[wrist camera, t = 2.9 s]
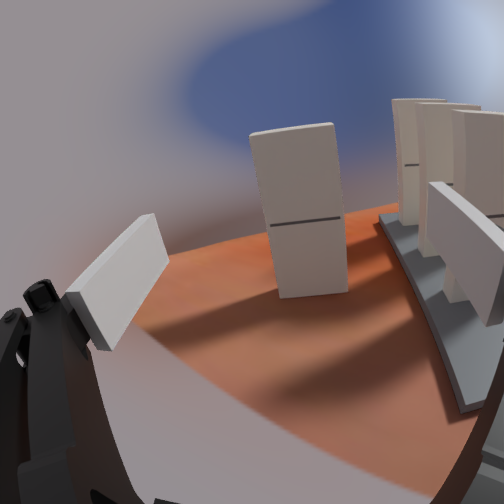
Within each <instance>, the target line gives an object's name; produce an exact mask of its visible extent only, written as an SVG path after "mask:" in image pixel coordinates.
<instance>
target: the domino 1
mask: <svg viewBox="0 0 504 504" xmlns="http://www.w3.org/2000/svg"><path fill="white" fill-rule="evenodd" d="M249 141H250V146H251V151H252V156H253V161H254V166H255V171H256V175H257V181H258V186H259V191H260V196H261V201H262V206H263V211H264V216H265V222H266V226H267V232H268V238H269V243H270V248H271V253H272V259H273V264H274V269H275V275H276V280H277V286H278V291H279V297H280V299H282V298H294V297H305V296H315V295H325V294H335V293H344V292H348V274H347V252H346V235H345V221H344V208H343V197H342V186H341V177H340V168H339V160H338V151H337V143H336V136H335V129H334V124H333V123H331V122H329V123H320V124H311V125H303V126H295V127H288V128H281V129H275V130H268V131H262V132H256V133H252V134H251V135H250V136H249Z"/></svg>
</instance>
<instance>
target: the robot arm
mask: <svg viewBox="0 0 504 504" xmlns="http://www.w3.org/2000/svg"><path fill="white" fill-rule="evenodd" d="M426 237H427V238H428V240H429V241H430V242H431V244H432V245H433V247H434V248H435V249H436V251H437V252H438V254H439V255H440V256H441V258H442V259H443V261H444V262H445V264H446V265H447V266H448V268H449V269H450V271H451V272H452V274H453V275H454V277H455V278H456V280H457V281H458V283H459V285H460V286H461V288H462V289H463V291H464V292H465V294H466V296H467V297H468V299H469V300H470V302H471V304H472V305H473V307H474V309H475V310H476V312H477V314H478V316H479V317H480V319H481V321H482V322H483V324H484V326H485V327H489V326H493V325H497V324H501V323H502V322H503V319H504V228H502V227H500V226H498V225H497V224H495V223H493V222H492V221H491V220H489V219H488V218H487V217H486V216H485V215H484V214H483V213H481V212H480V211H479V210H478V209H477V208H475V207H474V206H473V205H472V204H471V203H469V202H468V201H467V200H466V199H464V198H463V197H462V196H461V195H459V194H458V193H457V192H456V191H454V190H453V189H452V188H450V187H449V186H448V185H446V184H445V183H444V182H442V181H441V182H428V211H427V229H426ZM168 263H169V258H168V255H167V252H166V249H165V246H164V243H163V240H162V237H161V234H160V231H159V228H158V225H157V221H156V218H155V215H154V213H152V214H147V215H141V216H140V217H139V218H138V219H137V220H136V221H135V222H134V223H132V225H130V226H129V227H128V228H127V229H126V230H125V231H124V232H123V233H122V234H121V235H120V236H119V237H118V238H117V239H116V240H115V241H114V242H113V243H112V244H111V245H110V246H109V247H108V248H107V249H106V250H105V251H103V253H101V255H100V256H99V257H98V258H97V259H96V260H95V261H94V262H93V263H92V264H91V265H90V266H89V267H88V268H87V269H86V270H85V271H84V272H83V273H82V274H81V275H80V276H79V277H78V278H77V279H76V280H75V282H74V283H73V284H72V285H71V286H70V287H69V288H68V289H67V290H66V291H65V294H64V296H63V297H62V298H61V299H60V298H59V296H58V295H57V293H56V291H55V289H54V287H53V285H52V283H51V281H50V280H48V279H44V280H41V281H38V282H36V283H35V284H33V285H32V286H30V287H29V288H28V289H27V290H26V291H25V293H24V294H23V297H24V299H25V301H26V302H27V304H28V306H29V308H30V310H31V311H32V313H33V316H30V317H26V316H25V314H24V312H23V311H22V309H21V308H15V309H12V310H9V311H7V312H6V313H5V314H4V316H3V317H2V318H1V320H0V504H144V503H143V501H142V500H141V499H140V498H139V497H138V496H137V494H136V493H135V491H134V489H133V487H132V485H131V482H130V480H129V477H128V475H127V472H126V470H125V467H124V465H123V462H122V459H121V457H120V454H119V451H118V448H117V446H116V443H115V440H114V437H113V434H112V431H111V428H110V425H109V421H108V418H107V415H106V411H105V408H104V405H103V401H102V397H101V394H100V390H99V386H98V382H97V378H96V374H95V370H94V365H93V361H92V356H91V352H90V350H89V349H88V347H87V345H86V344H87V343H88V341H89V340H90V338H91V340H92V342H93V343H94V345H95V347H96V348H97V350H103V351H113V349H114V348H115V346H116V344H117V343H118V341H119V339H120V338H121V336H122V334H123V333H124V331H125V329H126V328H127V326H128V325H129V323H130V322H131V320H132V318H133V317H134V315H135V314H136V312H137V310H138V309H139V307H140V306H141V304H142V303H143V301H144V299H145V298H146V296H147V295H148V293H149V292H150V290H151V289H152V287H153V285H154V284H155V282H156V281H157V279H158V278H159V276H160V275H161V273H162V272H163V270H164V269H165V267H166V266H167V264H168ZM502 342H504V338H503V341H502ZM16 352H17V354H18V355H19V356H20V358H21V359H22V361H23V362H24V365H23V367H22V366H21V365H20V364H19V363H18V361H17V358H16ZM154 504H178V503H174V502H169V501H165V500H160V499H157V498H155V501H154ZM430 504H504V346H503V349H502V353H501V356H500V359H499V363H498V366H497V369H496V372H495V375H494V378H493V381H492V383H491V386H490V389H489V392H488V394H487V397H486V399H485V402H484V404H483V407H482V409H481V412H480V414H479V416H478V419H477V421H476V423H475V425H474V428H473V430H472V432H471V434H470V436H469V438H468V440H467V442H466V444H465V446H464V448H463V450H462V452H461V454H460V456H459V458H458V460H457V461H456V463H455V465H454V467H453V469H452V470H451V472H450V474H449V476H448V477H447V479H446V481H445V482H444V484H443V485H442V487H441V489H440V490H439V492H438V493H437V495H436V496H435V498H434V499H433V500H432V501H431V503H430Z"/></svg>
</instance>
